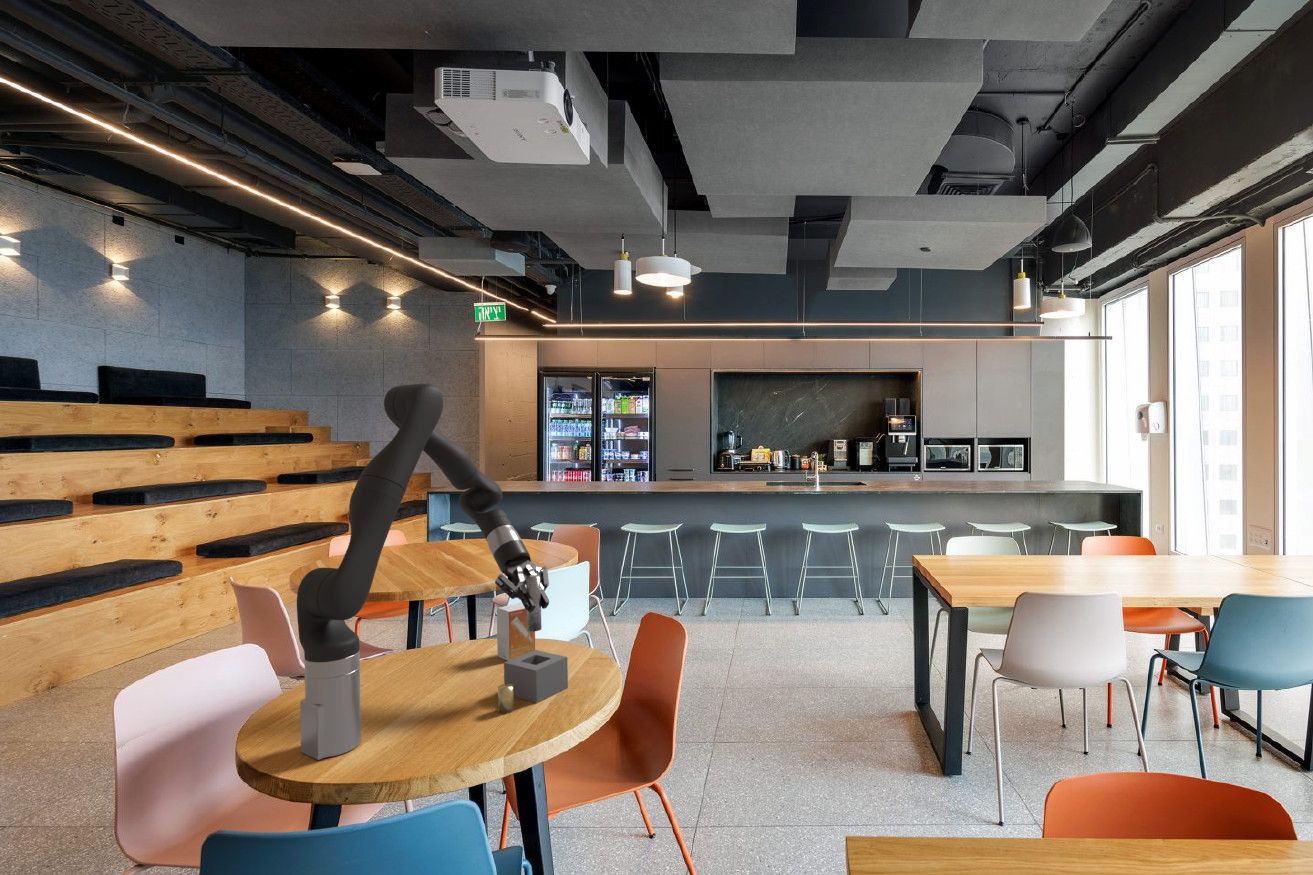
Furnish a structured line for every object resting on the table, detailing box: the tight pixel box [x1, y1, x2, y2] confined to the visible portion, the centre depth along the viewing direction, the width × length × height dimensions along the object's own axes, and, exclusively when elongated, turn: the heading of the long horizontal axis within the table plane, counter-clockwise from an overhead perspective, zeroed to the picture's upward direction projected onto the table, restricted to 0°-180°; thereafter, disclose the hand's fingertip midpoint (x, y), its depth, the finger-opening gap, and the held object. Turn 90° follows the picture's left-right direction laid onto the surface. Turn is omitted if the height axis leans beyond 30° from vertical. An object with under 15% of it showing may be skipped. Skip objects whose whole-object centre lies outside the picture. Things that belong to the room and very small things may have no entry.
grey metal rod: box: [525, 574, 543, 632], centre depth 143 cm, size 3×3×12 cm
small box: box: [496, 602, 536, 662], centre depth 167 cm, size 8×6×13 cm
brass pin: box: [497, 683, 515, 715], centre depth 132 cm, size 3×3×5 cm
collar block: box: [503, 649, 569, 704], centre depth 142 cm, size 10×10×7 cm
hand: (539, 607), depth 141 cm, fingers closed on grey metal rod, 3 cm apart
